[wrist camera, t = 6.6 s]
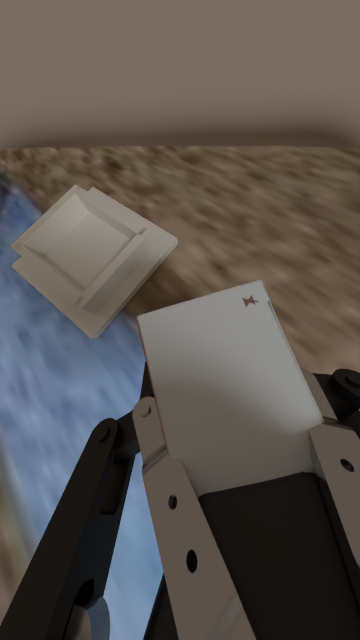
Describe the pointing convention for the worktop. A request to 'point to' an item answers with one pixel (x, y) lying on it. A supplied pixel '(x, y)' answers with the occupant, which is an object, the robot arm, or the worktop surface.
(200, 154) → the worktop surface
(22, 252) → the off-white tray
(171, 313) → the small box
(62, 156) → the worktop surface
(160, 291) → the worktop surface
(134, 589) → the worktop surface
